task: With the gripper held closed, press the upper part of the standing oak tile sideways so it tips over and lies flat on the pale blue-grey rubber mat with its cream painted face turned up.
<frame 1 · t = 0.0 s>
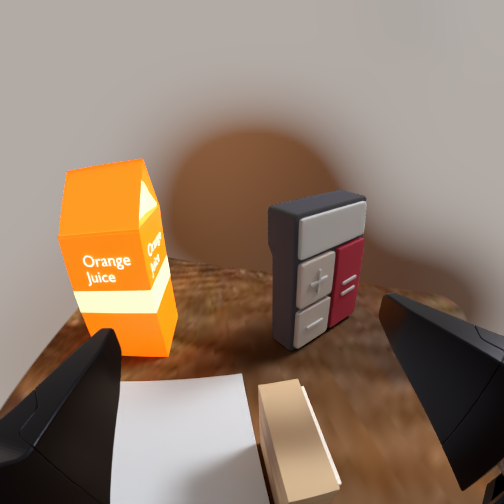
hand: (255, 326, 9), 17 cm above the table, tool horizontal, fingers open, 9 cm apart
charcoal upright rounded slab: (315, 326, 34), on the table
mat: (158, 460, 18), on the table
tile: (286, 481, 17), on the table
orange juice: (139, 335, 33), on the table
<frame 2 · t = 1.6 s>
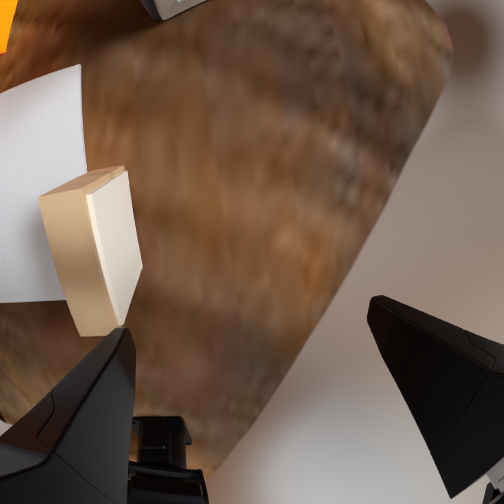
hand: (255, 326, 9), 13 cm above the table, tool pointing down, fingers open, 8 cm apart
mat: (8, 202, 17), on the table
tile: (115, 221, 20), on the table
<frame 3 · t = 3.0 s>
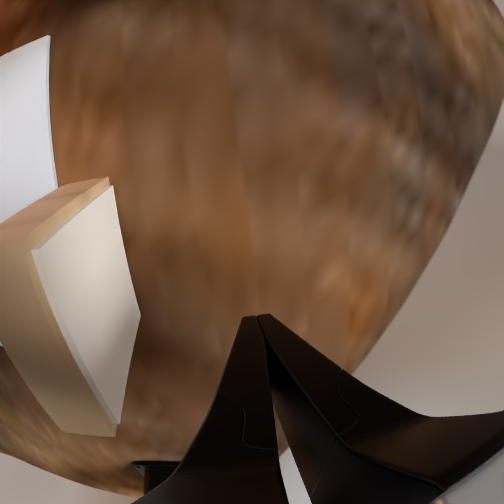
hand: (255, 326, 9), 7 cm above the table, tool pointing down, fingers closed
tile: (100, 255, 14), on the table
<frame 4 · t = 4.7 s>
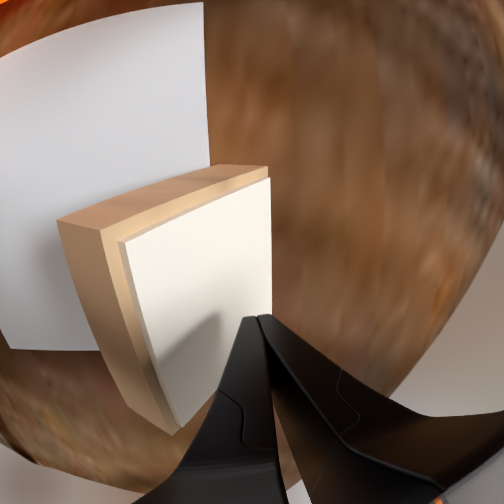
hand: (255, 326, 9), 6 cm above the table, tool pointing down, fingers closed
mat: (57, 208, 12), on the table
tile: (245, 248, 14), point 1 cm above the table, tilted 38°
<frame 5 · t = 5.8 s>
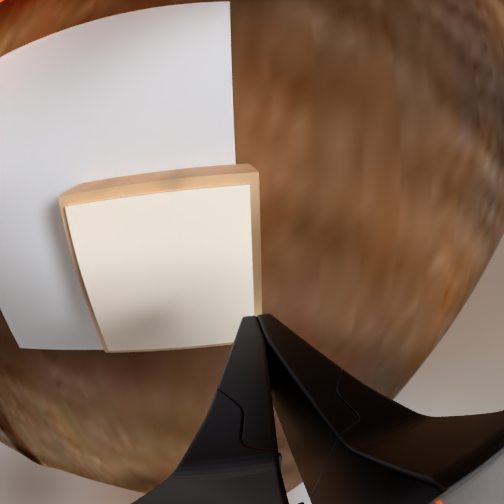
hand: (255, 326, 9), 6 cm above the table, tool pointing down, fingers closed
mat: (75, 203, 13), on the table
tile: (255, 255, 14), point 2 cm above the table, tilted 90°, touching mat
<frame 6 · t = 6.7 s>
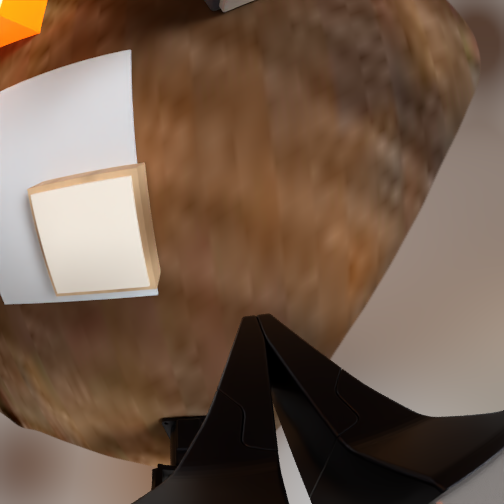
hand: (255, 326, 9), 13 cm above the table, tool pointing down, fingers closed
mat: (41, 194, 17), on the table
tile: (149, 225, 18), point 2 cm above the table, tilted 90°, touching mat
orange juice: (9, 9, 10), on the table
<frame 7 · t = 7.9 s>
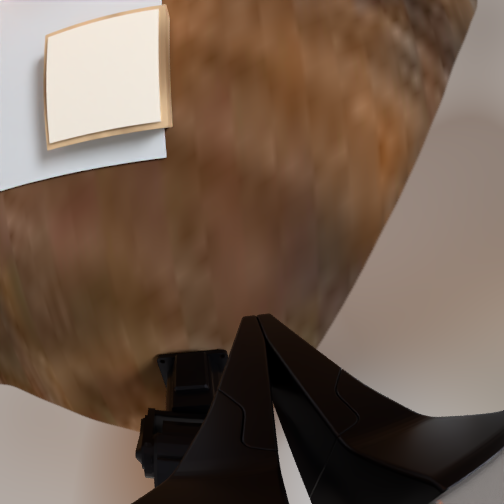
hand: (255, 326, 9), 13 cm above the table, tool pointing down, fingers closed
mat: (55, 57, 14), on the table
tile: (168, 65, 15), point 2 cm above the table, tilted 90°, touching mat
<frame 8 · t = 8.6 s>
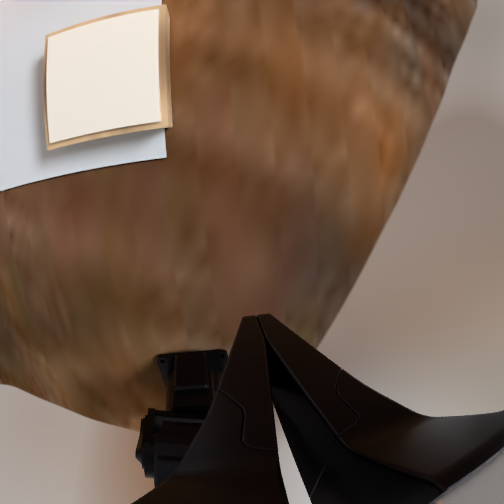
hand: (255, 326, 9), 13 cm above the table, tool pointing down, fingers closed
mat: (55, 57, 14), on the table
tile: (168, 65, 15), point 2 cm above the table, tilted 90°, touching mat
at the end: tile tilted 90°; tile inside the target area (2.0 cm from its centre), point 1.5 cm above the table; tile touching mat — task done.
